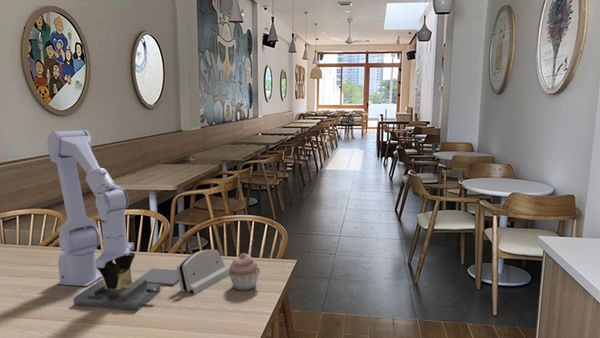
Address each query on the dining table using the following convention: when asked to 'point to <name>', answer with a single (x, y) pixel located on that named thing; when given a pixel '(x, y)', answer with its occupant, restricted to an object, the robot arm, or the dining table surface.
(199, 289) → the hinge
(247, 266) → the cupcake
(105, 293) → the vise
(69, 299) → the dining table surface
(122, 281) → the collar
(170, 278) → the mat
